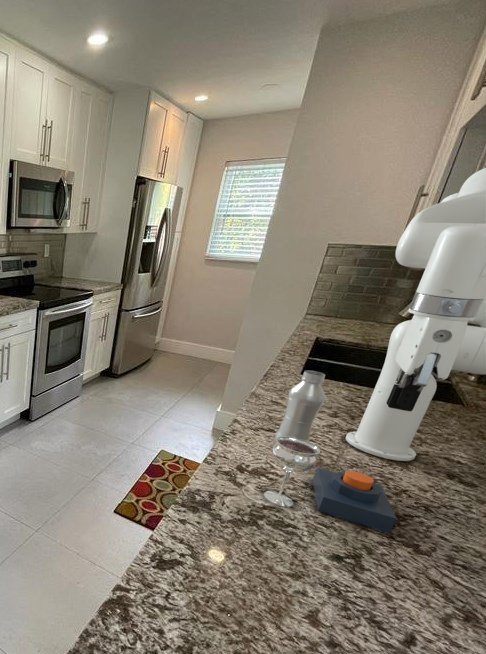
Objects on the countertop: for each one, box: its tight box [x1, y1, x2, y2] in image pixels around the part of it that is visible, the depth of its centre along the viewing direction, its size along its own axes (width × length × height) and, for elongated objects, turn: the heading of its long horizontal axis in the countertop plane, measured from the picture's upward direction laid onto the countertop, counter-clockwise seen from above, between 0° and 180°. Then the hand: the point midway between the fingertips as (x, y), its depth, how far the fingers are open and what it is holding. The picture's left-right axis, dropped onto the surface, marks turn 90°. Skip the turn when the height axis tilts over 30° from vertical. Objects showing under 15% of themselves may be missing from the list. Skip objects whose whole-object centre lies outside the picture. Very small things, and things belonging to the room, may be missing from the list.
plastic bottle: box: [272, 369, 326, 446], centre depth 93 cm, size 6×7×20 cm
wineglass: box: [263, 436, 321, 507], centre depth 77 cm, size 7×7×12 cm
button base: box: [312, 467, 397, 534], centre depth 78 cm, size 12×10×5 cm
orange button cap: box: [343, 470, 375, 490], centre depth 77 cm, size 4×4×2 cm
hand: (398, 407), depth 73 cm, fingers closed
